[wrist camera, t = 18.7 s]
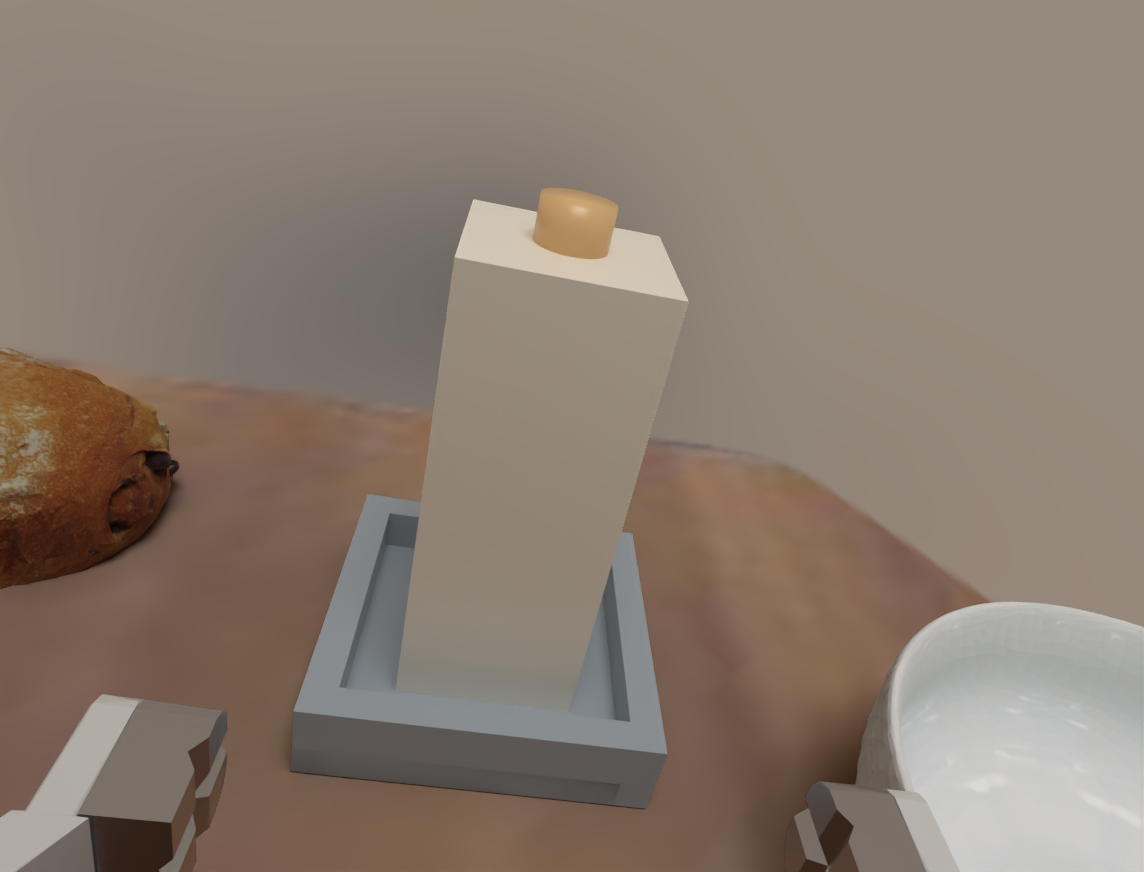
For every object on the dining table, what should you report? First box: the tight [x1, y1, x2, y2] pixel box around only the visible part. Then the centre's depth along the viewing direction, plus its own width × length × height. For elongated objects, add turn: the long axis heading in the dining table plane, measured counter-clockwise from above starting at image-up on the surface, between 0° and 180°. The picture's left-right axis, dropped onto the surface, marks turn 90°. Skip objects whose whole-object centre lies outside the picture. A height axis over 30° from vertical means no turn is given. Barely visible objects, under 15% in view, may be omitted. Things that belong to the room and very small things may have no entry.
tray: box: [290, 494, 667, 809], centre depth 27 cm, size 10×10×2 cm
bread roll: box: [0, 348, 179, 589], centre depth 29 cm, size 10×10×8 cm
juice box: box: [395, 188, 688, 712], centre depth 24 cm, size 6×6×15 cm
